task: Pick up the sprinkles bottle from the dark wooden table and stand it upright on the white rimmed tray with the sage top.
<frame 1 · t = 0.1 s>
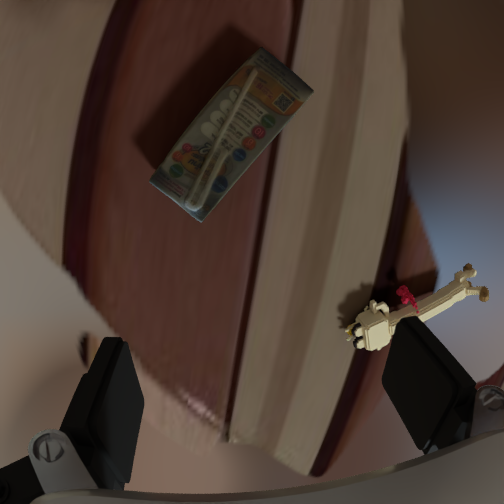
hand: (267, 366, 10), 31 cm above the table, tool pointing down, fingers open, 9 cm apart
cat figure: (410, 300, 49), on the table
beverage carton: (229, 133, 37), on the table
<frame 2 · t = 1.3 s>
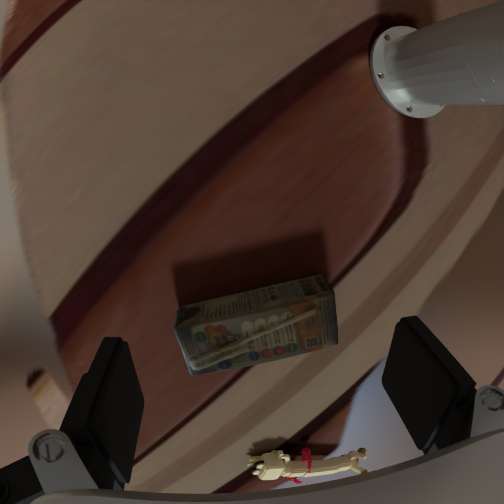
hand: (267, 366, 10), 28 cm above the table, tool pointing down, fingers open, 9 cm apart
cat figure: (307, 455, 56), on the table
beverage carton: (254, 312, 43), on the table
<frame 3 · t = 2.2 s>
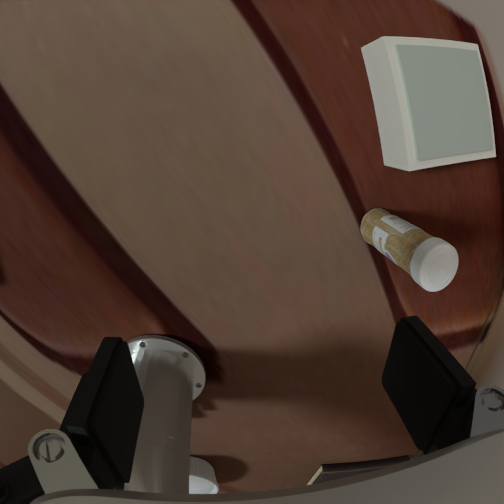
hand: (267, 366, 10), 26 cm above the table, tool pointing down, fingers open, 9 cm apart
white rimmed tray: (422, 101, 32), on the table
hardcover book: (351, 477, 58), on the table
sprinkles bottle: (375, 225, 37), on the table
ramekin: (188, 466, 50), on the table
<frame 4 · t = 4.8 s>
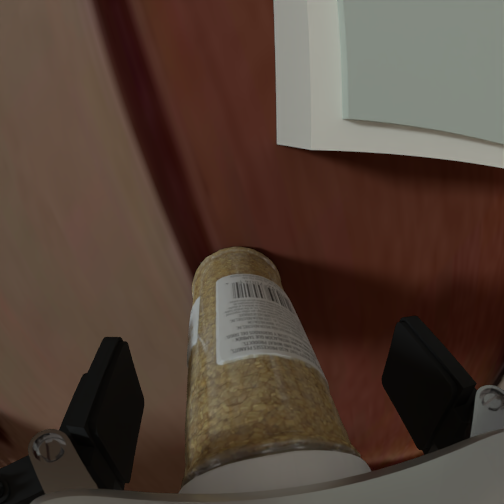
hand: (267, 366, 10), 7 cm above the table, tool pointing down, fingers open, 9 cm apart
white rimmed tray: (402, 27, 13), on the table
sprinkles bottle: (237, 284, 17), on the table
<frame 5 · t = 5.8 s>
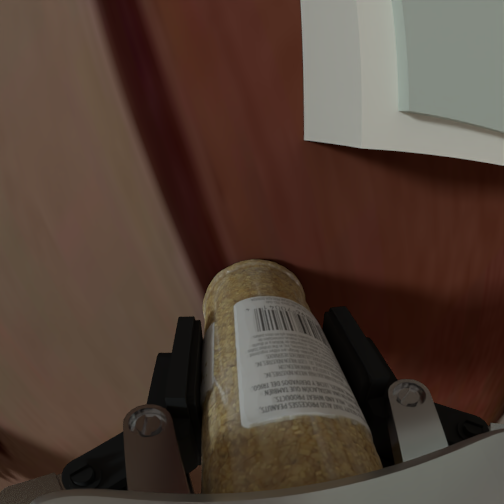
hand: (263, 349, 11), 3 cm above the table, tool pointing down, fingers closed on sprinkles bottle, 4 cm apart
white rimmed tray: (439, 15, 10), on the table
sprinkles bottle: (254, 300, 15), on the table, touching gripper
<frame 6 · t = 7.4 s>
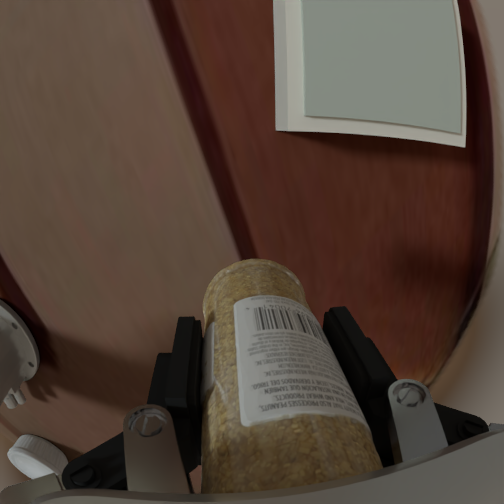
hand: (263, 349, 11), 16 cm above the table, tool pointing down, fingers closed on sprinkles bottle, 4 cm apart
white rimmed tray: (358, 53, 22), on the table
sprinkles bottle: (254, 300, 15), point 13 cm above the table, touching gripper
ramekin: (45, 448, 39), on the table
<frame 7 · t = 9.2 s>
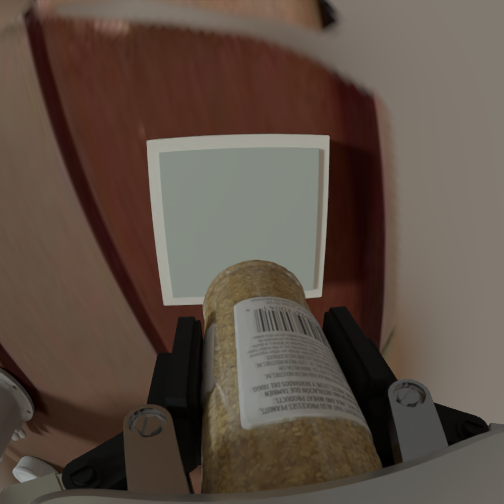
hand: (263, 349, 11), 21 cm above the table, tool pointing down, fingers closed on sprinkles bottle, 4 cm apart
white rimmed tray: (237, 208, 31), on the table
sprinkles bottle: (254, 301, 15), point 18 cm above the table, touching gripper
ramekin: (41, 466, 46), on the table
when the fingers open (11 cm above the table, at t = 11.4 s): sprinkles bottle drops 1 cm, resting on white rimmed tray.
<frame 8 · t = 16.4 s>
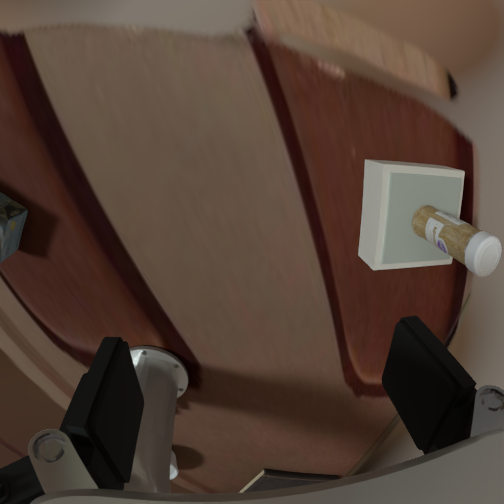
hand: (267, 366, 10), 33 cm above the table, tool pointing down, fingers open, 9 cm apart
white rimmed tray: (403, 208, 44), on the table
hardcover book: (287, 484, 70), on the table
sprinkles bottle: (423, 220, 39), point 6 cm above the table, touching white rimmed tray
ramekin: (154, 450, 60), on the table
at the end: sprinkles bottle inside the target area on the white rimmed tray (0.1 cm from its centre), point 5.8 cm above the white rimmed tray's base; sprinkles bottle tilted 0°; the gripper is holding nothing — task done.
